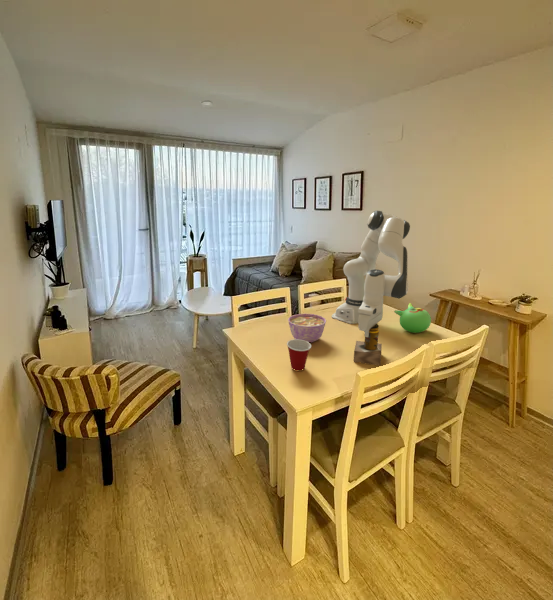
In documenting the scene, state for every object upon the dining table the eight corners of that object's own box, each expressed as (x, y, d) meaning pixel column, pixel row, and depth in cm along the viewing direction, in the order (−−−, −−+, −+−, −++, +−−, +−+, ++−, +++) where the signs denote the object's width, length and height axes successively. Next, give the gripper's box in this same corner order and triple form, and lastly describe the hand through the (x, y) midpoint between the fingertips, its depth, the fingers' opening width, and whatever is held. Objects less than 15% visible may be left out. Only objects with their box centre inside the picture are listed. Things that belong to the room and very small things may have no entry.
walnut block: (353, 362, 156) (354, 350, 154) (355, 351, 167) (356, 340, 165) (380, 366, 152) (381, 354, 151) (380, 355, 163) (381, 343, 162)
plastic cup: (306, 376, 143) (307, 350, 139) (282, 371, 147) (283, 346, 143) (313, 365, 152) (314, 341, 149) (291, 361, 156) (291, 337, 153)
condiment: (380, 350, 154) (383, 326, 151) (364, 352, 152) (366, 328, 149) (372, 344, 161) (375, 320, 158) (356, 345, 159) (358, 322, 156)
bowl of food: (282, 344, 174) (283, 323, 171) (294, 330, 192) (294, 311, 189) (320, 350, 168) (321, 328, 164) (328, 335, 186) (329, 316, 182)
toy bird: (418, 339, 181) (422, 314, 176) (390, 330, 193) (393, 306, 189) (434, 331, 192) (438, 307, 187) (407, 323, 204) (410, 300, 200)
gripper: (374, 299, 161) (372, 326, 165) (356, 310, 145) (354, 339, 149) (387, 301, 157) (384, 329, 161) (370, 313, 142) (368, 342, 146)
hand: (370, 334), depth 155 cm, fingers closed on condiment, 6 cm apart
